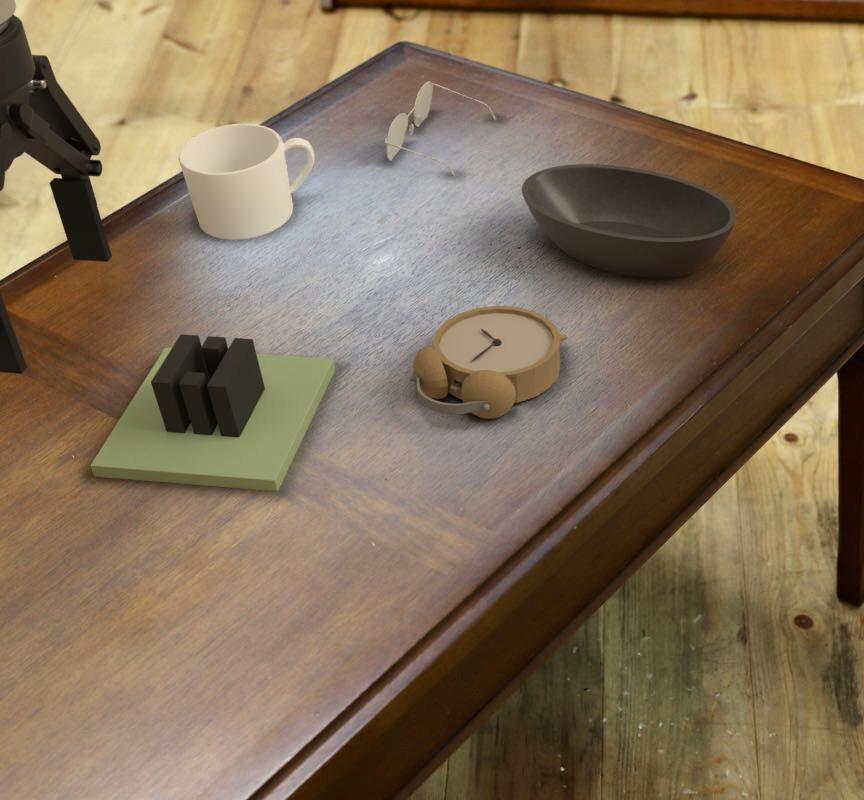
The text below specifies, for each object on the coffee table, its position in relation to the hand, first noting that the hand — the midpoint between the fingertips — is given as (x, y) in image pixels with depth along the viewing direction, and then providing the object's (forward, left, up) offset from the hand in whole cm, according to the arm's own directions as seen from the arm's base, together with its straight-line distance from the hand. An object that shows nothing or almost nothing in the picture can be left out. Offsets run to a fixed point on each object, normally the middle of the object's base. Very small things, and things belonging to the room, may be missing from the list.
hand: (51, 311), depth 97 cm
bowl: (+35, +41, -21) cm, 58 cm away
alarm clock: (+25, +20, -21) cm, 39 cm away
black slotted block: (+3, +12, -19) cm, 23 cm away
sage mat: (+3, +12, -21) cm, 24 cm away
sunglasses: (+11, +61, -21) cm, 66 cm away
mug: (-5, +45, -21) cm, 50 cm away
